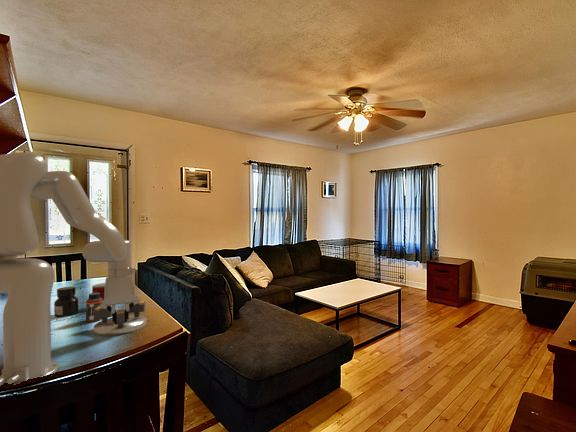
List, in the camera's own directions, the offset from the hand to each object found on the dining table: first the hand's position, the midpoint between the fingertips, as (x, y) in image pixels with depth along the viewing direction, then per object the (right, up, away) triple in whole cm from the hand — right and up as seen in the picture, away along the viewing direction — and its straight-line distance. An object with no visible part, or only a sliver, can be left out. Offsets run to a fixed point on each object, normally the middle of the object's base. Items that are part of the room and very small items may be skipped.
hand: (120, 321), depth 109 cm
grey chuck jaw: (0, -2, 0) cm, 2 cm away
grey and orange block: (0, -2, +11) cm, 11 cm away
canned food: (-29, -6, +35) cm, 46 cm away
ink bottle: (-38, -6, +24) cm, 46 cm away
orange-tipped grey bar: (-10, -2, +6) cm, 11 cm away
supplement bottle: (-20, -5, +15) cm, 25 cm away
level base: (-3, -4, +6) cm, 8 cm away
